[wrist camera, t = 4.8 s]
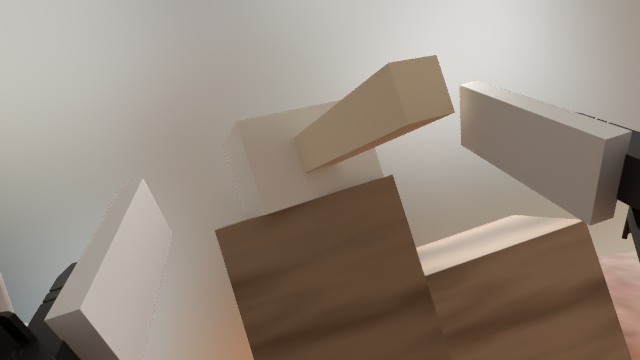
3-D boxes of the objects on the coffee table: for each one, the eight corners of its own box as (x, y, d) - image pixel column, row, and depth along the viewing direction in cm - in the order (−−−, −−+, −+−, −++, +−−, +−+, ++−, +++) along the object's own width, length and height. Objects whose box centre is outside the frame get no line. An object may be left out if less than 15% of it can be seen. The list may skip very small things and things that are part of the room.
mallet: (522, 137, 16) (479, 7, 16) (347, 196, 12) (293, 24, 12) (345, 187, 31) (324, 121, 31) (245, 219, 27) (222, 144, 28)
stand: (679, 503, 24) (553, 123, 25) (343, 654, 22) (215, 230, 23) (583, 428, 32) (489, 141, 33) (329, 533, 30) (234, 222, 31)
